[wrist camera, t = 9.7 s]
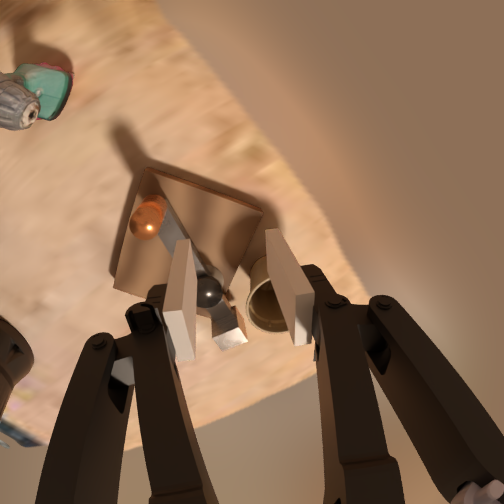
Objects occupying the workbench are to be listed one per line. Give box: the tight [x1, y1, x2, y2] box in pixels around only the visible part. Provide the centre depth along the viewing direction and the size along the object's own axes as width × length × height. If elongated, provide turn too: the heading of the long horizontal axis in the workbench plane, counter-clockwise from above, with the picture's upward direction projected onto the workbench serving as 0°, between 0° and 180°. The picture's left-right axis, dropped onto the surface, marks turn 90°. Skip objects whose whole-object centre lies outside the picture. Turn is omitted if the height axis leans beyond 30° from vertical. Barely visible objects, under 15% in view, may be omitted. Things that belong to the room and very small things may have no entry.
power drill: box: [0, 62, 74, 131], centre depth 20 cm, size 7×16×20 cm, turn 63°
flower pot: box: [246, 256, 289, 334], centre depth 41 cm, size 9×9×9 cm
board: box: [113, 167, 263, 318], centre depth 40 cm, size 16×18×2 cm
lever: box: [129, 194, 248, 351], centre depth 36 cm, size 23×5×8 cm, turn 24°
